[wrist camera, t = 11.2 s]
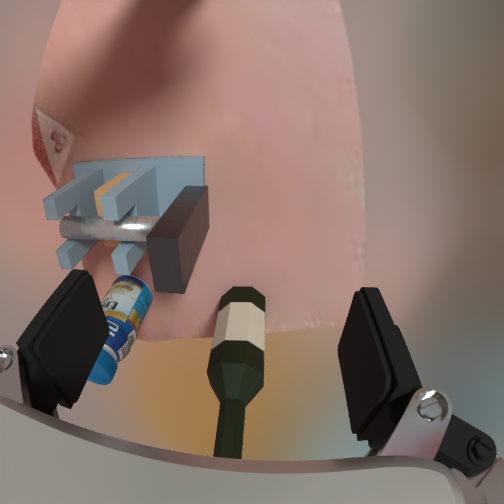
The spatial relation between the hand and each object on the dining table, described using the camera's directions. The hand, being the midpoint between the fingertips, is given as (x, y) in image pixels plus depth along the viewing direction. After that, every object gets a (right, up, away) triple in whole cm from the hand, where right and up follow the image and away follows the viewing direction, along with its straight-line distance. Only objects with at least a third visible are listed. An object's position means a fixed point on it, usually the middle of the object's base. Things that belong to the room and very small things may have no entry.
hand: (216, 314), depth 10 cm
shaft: (-14, +9, +29) cm, 33 cm away
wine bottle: (0, -7, +43) cm, 44 cm away
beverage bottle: (-21, -5, +43) cm, 48 cm away
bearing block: (-17, +11, +33) cm, 39 cm away
